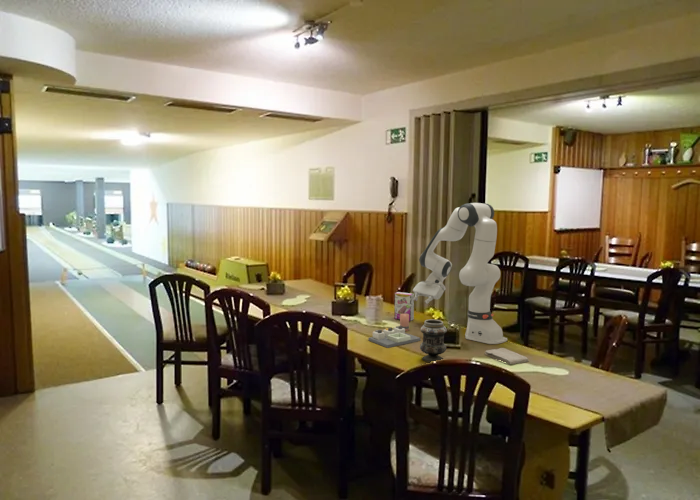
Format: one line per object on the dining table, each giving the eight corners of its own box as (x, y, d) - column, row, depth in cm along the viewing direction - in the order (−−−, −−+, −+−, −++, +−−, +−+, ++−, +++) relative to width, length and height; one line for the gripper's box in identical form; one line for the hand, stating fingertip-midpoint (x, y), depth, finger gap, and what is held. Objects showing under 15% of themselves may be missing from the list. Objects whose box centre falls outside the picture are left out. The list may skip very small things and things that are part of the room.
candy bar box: (394, 319, 309) (394, 293, 307) (397, 317, 313) (397, 291, 311) (410, 321, 303) (410, 294, 301) (414, 319, 307) (414, 293, 305)
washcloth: (501, 352, 244) (501, 345, 244) (529, 362, 228) (529, 356, 228) (482, 355, 239) (482, 349, 239) (509, 366, 223) (509, 359, 222)
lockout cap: (410, 330, 283) (410, 314, 282) (403, 331, 280) (404, 315, 279) (404, 328, 287) (405, 313, 286) (398, 329, 284) (398, 314, 283)
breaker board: (420, 340, 262) (420, 329, 261) (387, 347, 250) (387, 336, 249) (400, 333, 275) (400, 323, 275) (368, 340, 263) (368, 329, 262)
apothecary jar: (451, 361, 229) (452, 322, 227) (429, 365, 224) (430, 325, 222) (436, 354, 240) (436, 317, 238) (414, 357, 235) (415, 319, 233)
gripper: (418, 277, 300) (405, 295, 296) (442, 282, 283) (429, 301, 279) (423, 283, 303) (411, 301, 298) (448, 288, 286) (435, 307, 282)
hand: (420, 301), depth 288 cm, fingers open, 8 cm apart
